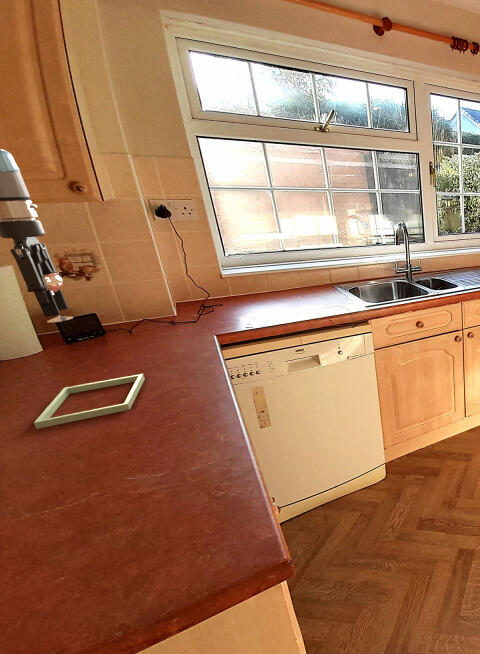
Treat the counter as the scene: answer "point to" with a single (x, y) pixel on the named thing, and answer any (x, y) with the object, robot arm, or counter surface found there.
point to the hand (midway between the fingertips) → (57, 312)
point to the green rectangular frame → (46, 421)
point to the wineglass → (54, 290)
